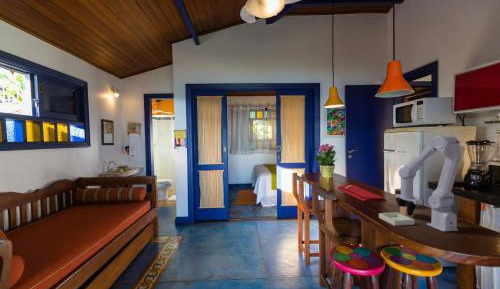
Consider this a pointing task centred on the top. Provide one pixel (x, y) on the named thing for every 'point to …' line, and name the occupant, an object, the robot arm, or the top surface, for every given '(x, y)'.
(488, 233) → the top surface
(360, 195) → the dish drying mat
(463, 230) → the top surface
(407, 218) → the tray
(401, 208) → the block
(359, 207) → the top surface
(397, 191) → the mug
